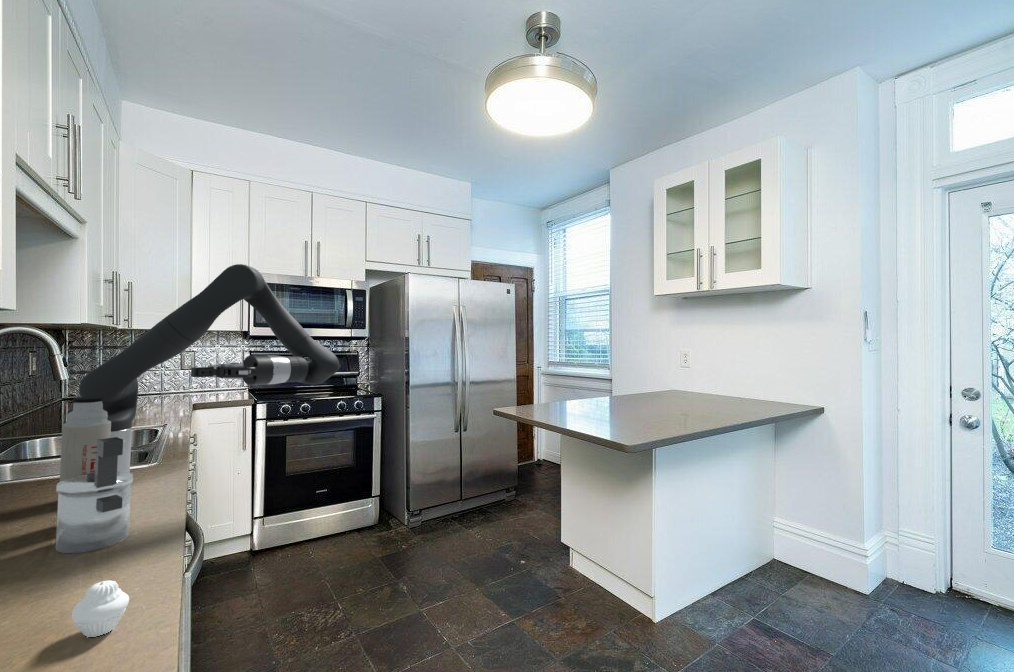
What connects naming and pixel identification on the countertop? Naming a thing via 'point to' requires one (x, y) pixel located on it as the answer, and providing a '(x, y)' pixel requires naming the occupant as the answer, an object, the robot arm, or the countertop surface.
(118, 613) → the muffin
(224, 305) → the robot arm
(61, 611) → the countertop surface
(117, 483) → the cooker lid
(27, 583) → the countertop surface
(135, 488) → the countertop surface
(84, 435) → the thermos bottle
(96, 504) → the cooker pot
